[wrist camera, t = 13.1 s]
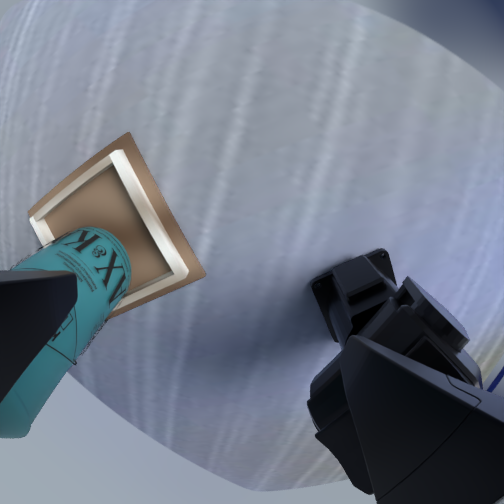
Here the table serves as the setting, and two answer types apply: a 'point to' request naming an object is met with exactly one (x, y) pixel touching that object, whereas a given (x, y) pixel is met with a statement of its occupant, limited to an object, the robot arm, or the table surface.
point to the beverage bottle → (68, 317)
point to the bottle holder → (122, 220)
